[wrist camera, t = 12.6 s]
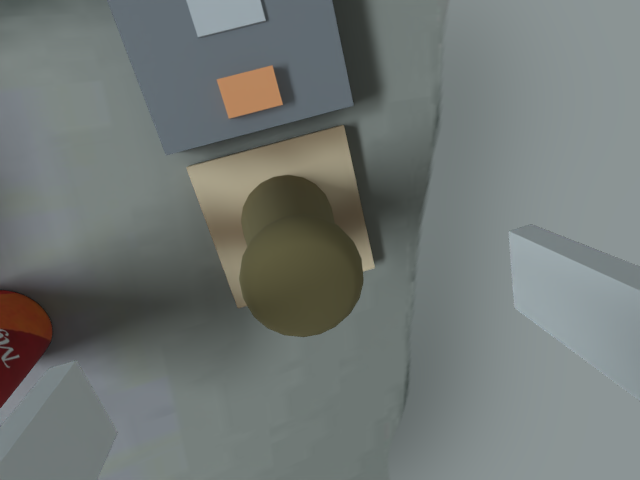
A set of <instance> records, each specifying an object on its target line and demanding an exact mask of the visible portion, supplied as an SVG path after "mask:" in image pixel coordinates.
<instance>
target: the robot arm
mask: <svg viewBox="0 0 640 480" xmlns="http://www.w3.org/2000/svg"><path fill="white" fill-rule="evenodd" d="M509 244H510V258H511V271H512V284H513V297H514V308H515V309H517V310H518V311H519V312H521V313H522V314H523V315H525V316H526V317H527V318H529V319H530V320H531V321H533V322H534V323H535V324H537V325H538V326H539V327H541V328H542V329H543V330H545V331H546V332H548V333H549V334H550V335H552V336H553V337H554V338H556V339H557V340H558V341H560V342H561V343H562V344H564V345H565V346H567V347H568V348H569V349H570V350H572V351H573V352H574V353H576V354H577V355H578V356H580V357H581V358H582V359H584V360H585V361H587V362H588V363H589V364H591V365H592V366H594V367H595V368H596V369H597V370H599V371H600V372H601V373H603V374H604V375H605V376H607V377H608V378H609V379H611V380H612V381H613V382H615V383H616V384H617V385H619V386H620V387H622V388H623V389H624V390H626V391H627V392H628V393H630V394H631V395H632V396H634V397H635V398H636V399H638V400H639V401H640V266H638V265H635V264H632V263H629V262H627V261H625V260H622V259H619V258H617V257H614V256H612V255H609V254H607V253H604V252H602V251H599V250H597V249H594V248H592V247H589V246H586V245H584V244H581V243H579V242H576V241H574V240H571V239H568V238H566V237H563V236H561V235H558V234H555V233H553V232H550V231H548V230H545V229H543V228H540V227H538V226H535V225H533V224H530V225H527V226H524V227H520V228H517V229H514V230H511V231H509ZM117 433H118V432H117V430H116V428H115V426H114V425H113V423H112V421H111V419H110V418H109V416H108V414H107V412H106V411H105V409H104V407H103V406H102V404H101V402H100V400H99V399H98V397H97V395H96V393H95V392H94V390H93V388H92V386H91V385H90V383H89V381H88V379H87V378H86V376H85V374H84V372H83V371H82V369H81V367H80V365H79V364H78V362H77V360H75V361H72V362H68V363H65V364H62V365H58V366H55V367H52V368H49V369H48V370H47V371H46V372H45V374H44V375H43V376H42V377H41V378H40V380H39V381H38V382H37V383H36V384H35V386H34V387H33V388H32V389H31V390H30V392H29V393H28V394H27V395H26V396H25V398H24V399H23V400H22V401H21V403H20V404H19V405H18V406H17V407H16V409H15V410H14V411H13V412H12V413H11V415H10V416H9V417H8V418H7V419H6V421H5V422H4V423H3V424H2V425H1V427H0V480H97V479H98V476H99V474H100V472H101V470H102V467H103V465H104V463H105V460H106V458H107V456H108V454H109V451H110V449H111V447H112V445H113V442H114V440H115V438H116V436H117Z"/></svg>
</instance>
